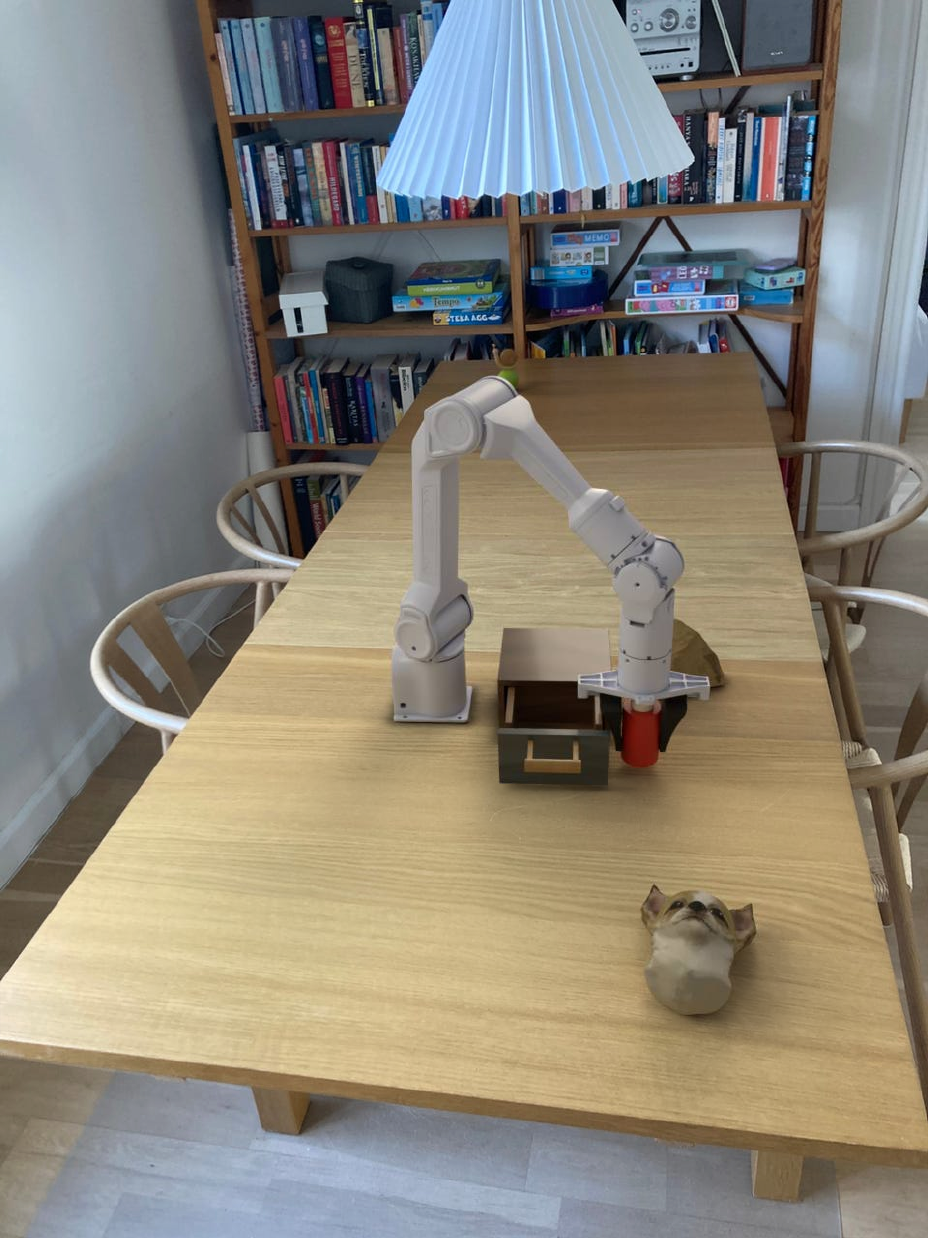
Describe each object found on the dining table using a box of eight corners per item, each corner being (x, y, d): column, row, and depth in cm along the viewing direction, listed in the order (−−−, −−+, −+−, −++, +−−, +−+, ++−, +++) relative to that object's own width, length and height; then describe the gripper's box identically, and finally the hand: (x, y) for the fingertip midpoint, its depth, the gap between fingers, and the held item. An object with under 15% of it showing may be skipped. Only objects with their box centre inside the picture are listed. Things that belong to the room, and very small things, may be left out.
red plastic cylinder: (621, 767, 117) (623, 706, 113) (619, 745, 121) (622, 685, 117) (659, 768, 117) (663, 707, 112) (657, 745, 120) (660, 685, 116)
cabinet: (610, 742, 124) (612, 681, 119) (499, 740, 125) (497, 680, 121) (606, 686, 135) (608, 628, 130) (504, 684, 136) (503, 627, 132)
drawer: (609, 814, 111) (611, 763, 107) (496, 811, 112) (494, 760, 109) (604, 727, 125) (606, 679, 122) (504, 725, 126) (503, 678, 123)
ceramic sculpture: (623, 945, 84) (650, 836, 97) (617, 1020, 88) (644, 906, 101) (755, 973, 81) (765, 857, 94) (743, 1050, 85) (755, 928, 98)
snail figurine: (490, 389, 255) (489, 341, 249) (514, 386, 257) (513, 338, 251) (497, 395, 251) (496, 346, 245) (521, 392, 252) (521, 343, 246)
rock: (732, 652, 136) (658, 634, 138) (740, 628, 128) (662, 609, 131) (714, 727, 133) (639, 707, 135) (721, 707, 125) (641, 686, 127)
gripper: (579, 665, 109) (577, 766, 115) (716, 666, 107) (707, 769, 114) (578, 632, 115) (577, 730, 121) (709, 633, 113) (700, 732, 120)
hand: (639, 747), depth 118 cm, fingers closed on red plastic cylinder, 4 cm apart
